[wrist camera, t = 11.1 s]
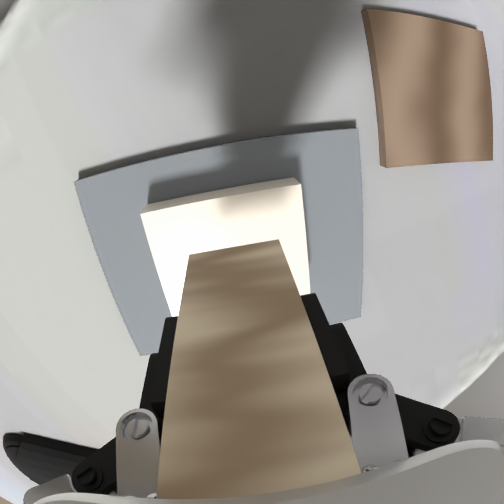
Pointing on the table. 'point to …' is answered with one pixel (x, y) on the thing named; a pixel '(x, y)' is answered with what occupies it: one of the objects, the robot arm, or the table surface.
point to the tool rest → (429, 90)
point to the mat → (221, 177)
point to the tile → (226, 229)
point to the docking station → (43, 456)
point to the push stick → (248, 384)
